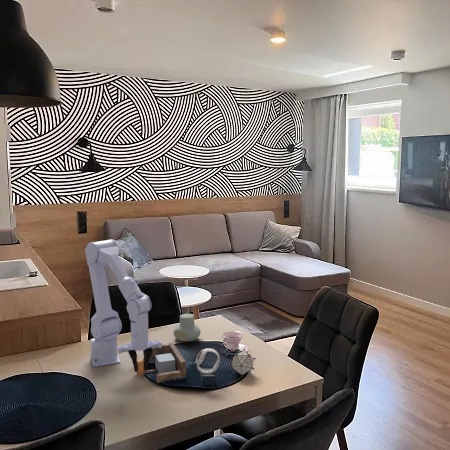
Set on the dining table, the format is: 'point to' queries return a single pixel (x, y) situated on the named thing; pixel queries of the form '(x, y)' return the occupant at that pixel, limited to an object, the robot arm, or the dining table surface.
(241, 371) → the game die
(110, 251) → the robot arm
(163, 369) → the pull block
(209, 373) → the watch
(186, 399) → the dining table surface
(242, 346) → the teacup
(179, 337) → the air freshener
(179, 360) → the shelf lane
